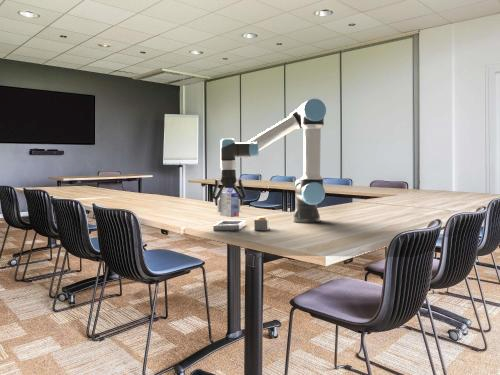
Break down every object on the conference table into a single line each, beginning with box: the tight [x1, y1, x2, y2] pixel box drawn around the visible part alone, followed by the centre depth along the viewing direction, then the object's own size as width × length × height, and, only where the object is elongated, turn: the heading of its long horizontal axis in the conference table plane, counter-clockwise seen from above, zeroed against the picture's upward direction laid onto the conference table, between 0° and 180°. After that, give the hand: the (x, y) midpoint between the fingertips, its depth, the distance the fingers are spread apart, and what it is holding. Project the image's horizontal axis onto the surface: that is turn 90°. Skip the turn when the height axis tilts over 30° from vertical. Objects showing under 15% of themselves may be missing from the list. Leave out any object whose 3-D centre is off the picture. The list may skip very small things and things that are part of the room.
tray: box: [212, 220, 247, 231], centre depth 210 cm, size 13×17×2 cm
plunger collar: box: [253, 217, 270, 231], centre depth 202 cm, size 6×6×5 cm
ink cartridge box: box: [219, 187, 240, 218], centre depth 210 cm, size 10×6×14 cm, turn 41°
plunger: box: [257, 216, 266, 220], centre depth 202 cm, size 4×4×5 cm
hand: (229, 212), depth 210 cm, fingers closed on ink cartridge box, 10 cm apart
